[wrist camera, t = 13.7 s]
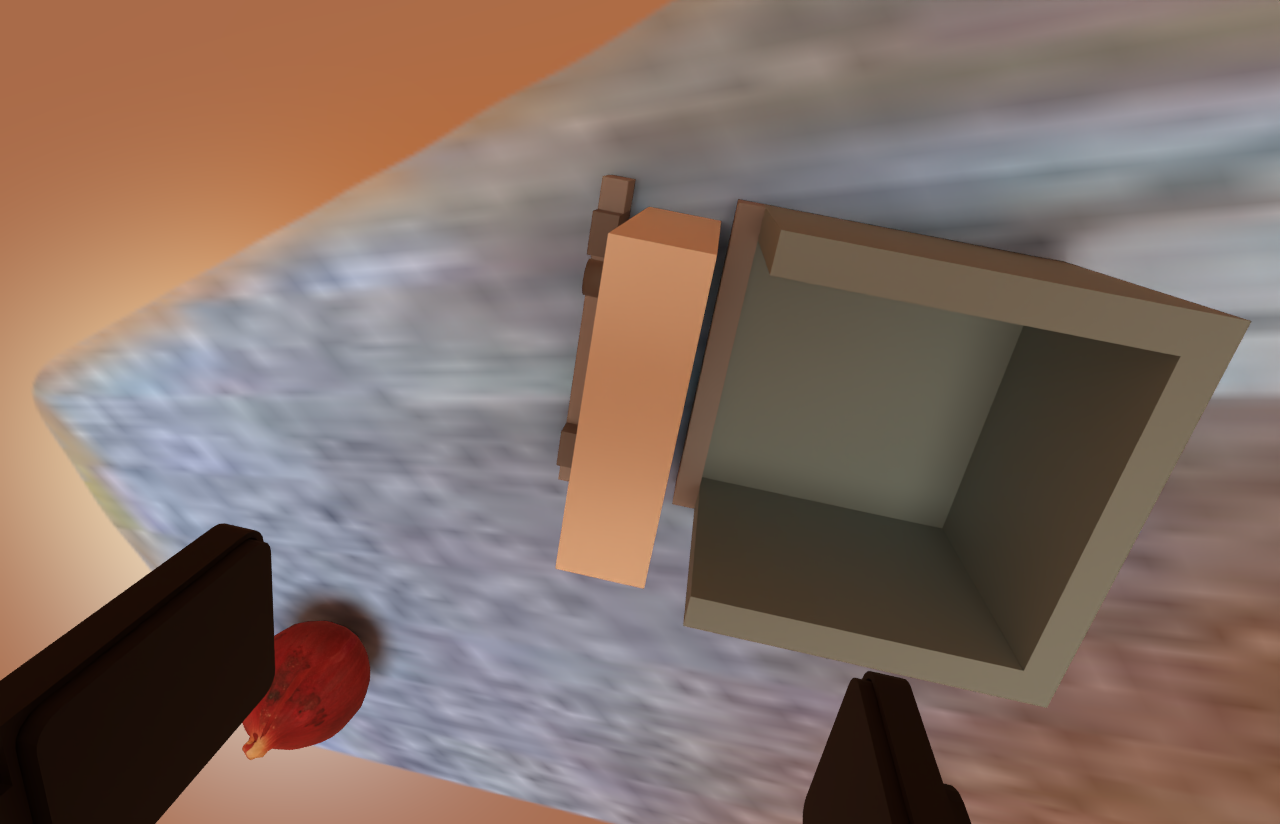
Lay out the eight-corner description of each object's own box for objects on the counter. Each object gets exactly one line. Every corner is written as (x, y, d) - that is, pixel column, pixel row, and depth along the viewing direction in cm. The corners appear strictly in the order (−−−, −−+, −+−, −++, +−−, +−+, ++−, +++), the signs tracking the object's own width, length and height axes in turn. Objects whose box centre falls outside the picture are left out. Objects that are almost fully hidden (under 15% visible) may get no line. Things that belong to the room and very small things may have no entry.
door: (721, 220, 27) (717, 255, 18) (669, 460, 31) (643, 588, 22) (625, 201, 28) (572, 225, 18) (585, 442, 32) (526, 561, 22)
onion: (302, 576, 36) (193, 684, 29) (403, 610, 36) (320, 726, 29) (291, 656, 39) (187, 775, 31) (386, 688, 39) (305, 815, 31)
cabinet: (1066, 262, 26) (1251, 321, 17) (951, 542, 31) (1047, 708, 22) (611, 174, 27) (550, 185, 18) (568, 460, 32) (502, 585, 23)
